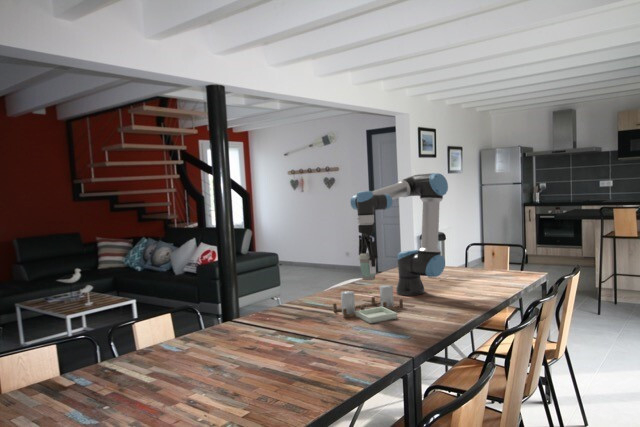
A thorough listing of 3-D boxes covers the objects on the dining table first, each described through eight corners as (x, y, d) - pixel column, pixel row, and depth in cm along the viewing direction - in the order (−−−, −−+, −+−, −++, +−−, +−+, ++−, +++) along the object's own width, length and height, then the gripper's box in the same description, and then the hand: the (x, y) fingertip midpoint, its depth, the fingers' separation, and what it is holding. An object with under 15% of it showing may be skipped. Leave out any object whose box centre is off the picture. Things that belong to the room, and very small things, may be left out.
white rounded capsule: (351, 310, 234) (350, 290, 234) (357, 313, 228) (356, 292, 228) (340, 312, 232) (338, 292, 231) (345, 315, 226) (344, 294, 225)
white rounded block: (389, 304, 242) (388, 284, 241) (396, 306, 236) (394, 286, 235) (378, 305, 239) (377, 286, 239) (384, 308, 233) (383, 288, 233)
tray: (382, 311, 229) (382, 306, 228) (397, 318, 216) (396, 312, 215) (355, 316, 224) (355, 310, 224) (369, 323, 211) (369, 317, 210)
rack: (389, 301, 246) (389, 294, 245) (403, 307, 233) (403, 299, 233) (333, 311, 235) (332, 303, 234) (344, 318, 222) (343, 309, 222)
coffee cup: (371, 281, 219) (370, 255, 218) (356, 280, 224) (355, 254, 224) (381, 278, 226) (380, 252, 225) (366, 276, 231) (365, 252, 230)
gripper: (350, 223, 232) (352, 269, 234) (368, 225, 212) (371, 276, 213) (364, 222, 235) (366, 268, 236) (383, 224, 215) (386, 274, 216)
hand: (368, 272), depth 225 cm, fingers closed on coffee cup, 9 cm apart
